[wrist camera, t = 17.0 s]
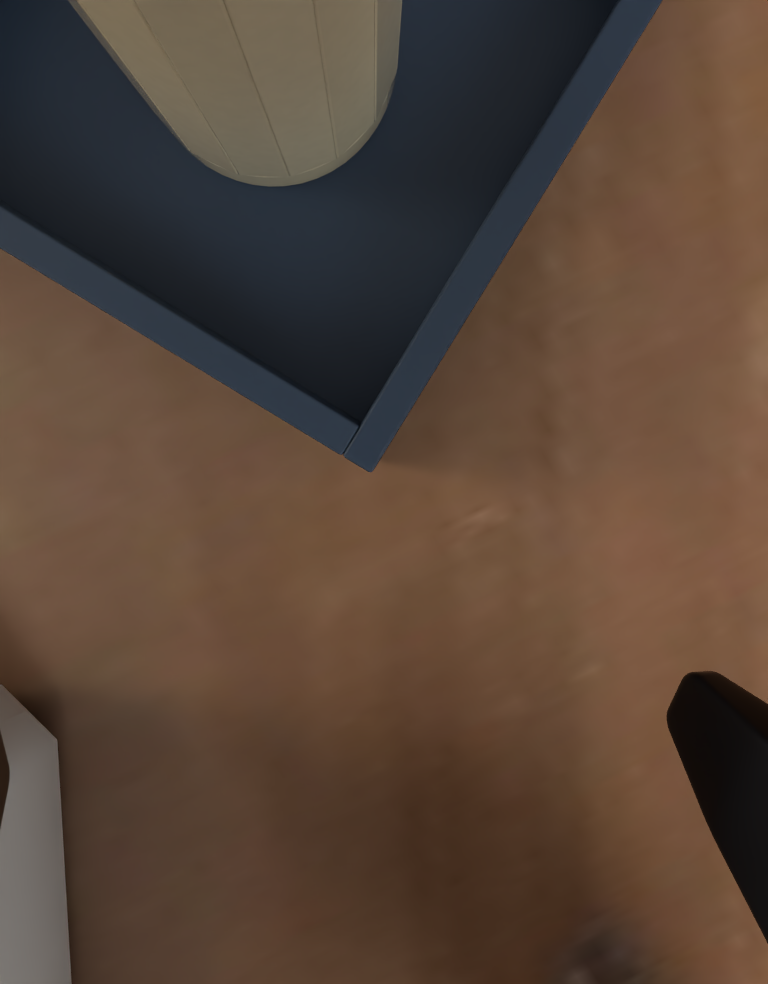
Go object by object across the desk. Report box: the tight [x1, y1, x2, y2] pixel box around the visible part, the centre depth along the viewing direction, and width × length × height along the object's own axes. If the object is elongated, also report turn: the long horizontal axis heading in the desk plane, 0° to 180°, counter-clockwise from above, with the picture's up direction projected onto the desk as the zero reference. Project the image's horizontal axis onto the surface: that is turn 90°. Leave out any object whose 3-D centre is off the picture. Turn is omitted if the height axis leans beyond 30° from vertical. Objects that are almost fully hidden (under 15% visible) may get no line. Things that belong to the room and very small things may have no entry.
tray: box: [0, 0, 662, 472], centre depth 15 cm, size 15×15×3 cm
